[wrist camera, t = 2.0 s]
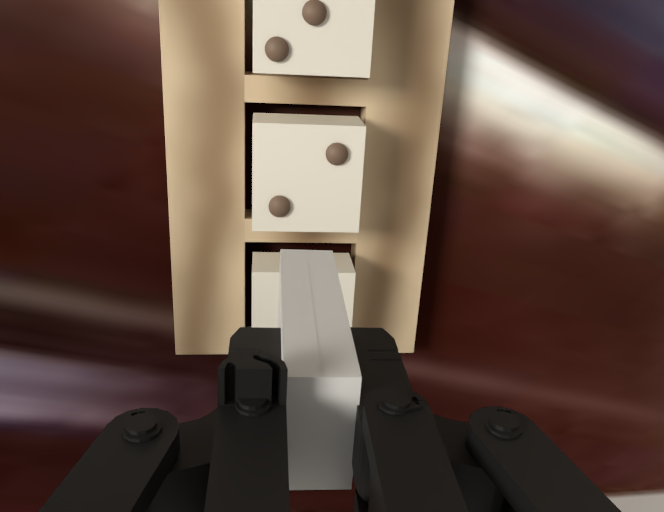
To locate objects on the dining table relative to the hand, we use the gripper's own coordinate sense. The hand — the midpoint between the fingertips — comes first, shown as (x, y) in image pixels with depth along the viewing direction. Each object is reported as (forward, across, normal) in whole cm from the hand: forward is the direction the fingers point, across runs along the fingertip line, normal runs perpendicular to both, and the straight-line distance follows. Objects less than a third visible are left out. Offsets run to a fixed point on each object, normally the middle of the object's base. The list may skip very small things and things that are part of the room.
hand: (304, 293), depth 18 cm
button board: (+22, +1, -1) cm, 22 cm away
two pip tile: (+20, +1, -1) cm, 20 cm away
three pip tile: (+20, +1, +7) cm, 21 cm away
